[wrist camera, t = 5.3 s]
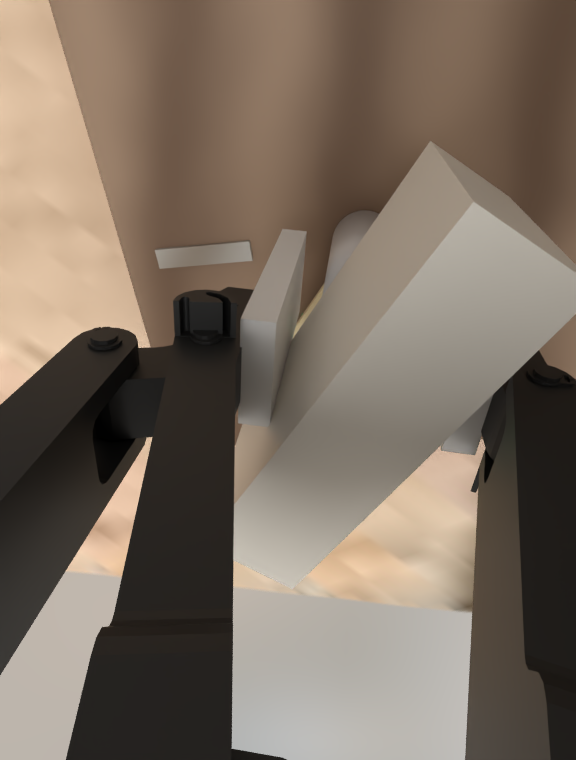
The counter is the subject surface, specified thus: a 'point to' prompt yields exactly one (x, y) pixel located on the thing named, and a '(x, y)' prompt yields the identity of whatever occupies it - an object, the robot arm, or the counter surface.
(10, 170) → the counter surface
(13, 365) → the counter surface
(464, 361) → the white stand
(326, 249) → the wooden cutting board
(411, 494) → the counter surface
